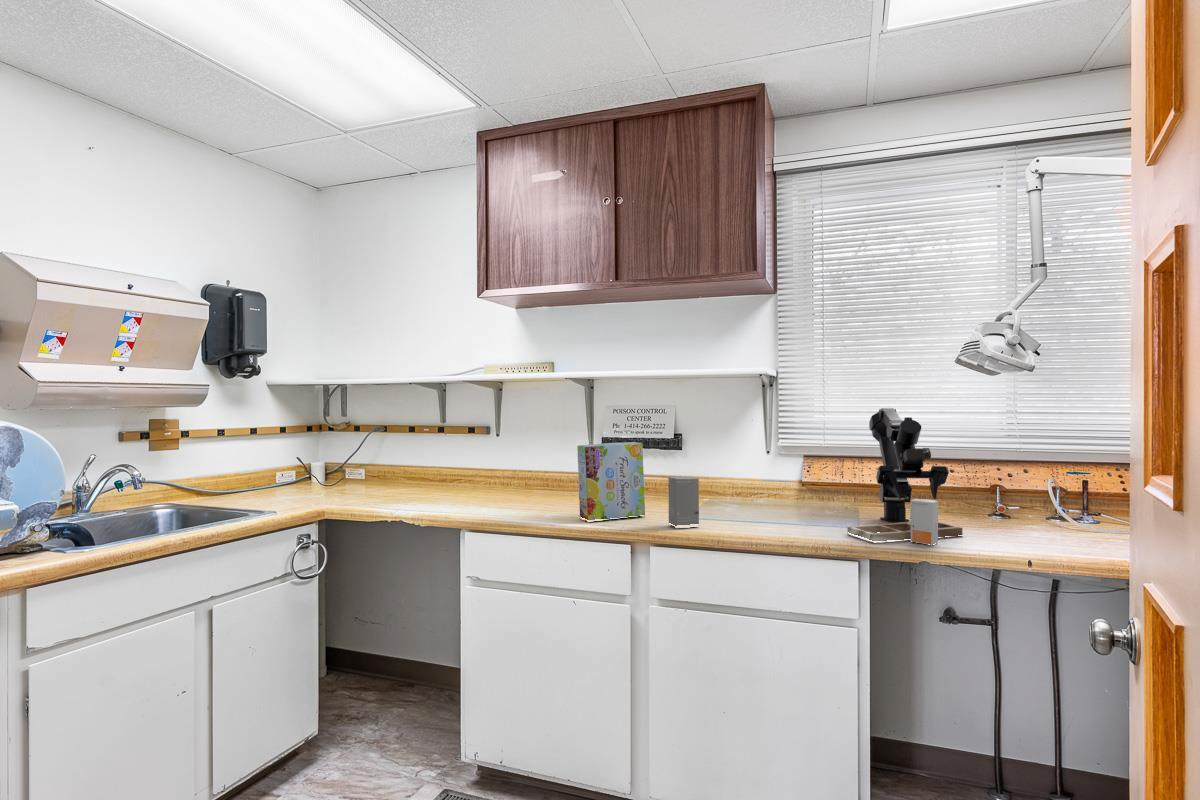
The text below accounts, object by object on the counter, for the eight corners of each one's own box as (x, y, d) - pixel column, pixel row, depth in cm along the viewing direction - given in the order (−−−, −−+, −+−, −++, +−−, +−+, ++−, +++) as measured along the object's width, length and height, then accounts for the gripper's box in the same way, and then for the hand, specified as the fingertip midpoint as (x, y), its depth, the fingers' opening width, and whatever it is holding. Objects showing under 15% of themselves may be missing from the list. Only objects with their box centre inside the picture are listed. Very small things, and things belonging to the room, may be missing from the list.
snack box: (635, 513, 236) (633, 441, 235) (646, 517, 228) (644, 442, 227) (577, 519, 227) (576, 444, 227) (587, 523, 219) (585, 445, 219)
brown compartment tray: (847, 535, 196) (847, 526, 195) (931, 528, 203) (931, 520, 203) (874, 543, 184) (873, 534, 184) (962, 536, 191) (962, 527, 191)
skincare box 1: (675, 529, 207) (675, 479, 207) (667, 525, 214) (666, 476, 214) (700, 527, 209) (700, 477, 209) (691, 523, 216) (691, 475, 216)
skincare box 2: (910, 543, 184) (909, 500, 184) (915, 540, 187) (915, 498, 187) (933, 546, 180) (932, 502, 180) (938, 543, 183) (938, 500, 183)
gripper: (878, 438, 196) (887, 480, 185) (946, 438, 192) (960, 481, 181) (872, 462, 203) (881, 504, 193) (938, 462, 200) (950, 505, 189)
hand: (917, 498), depth 189 cm, fingers open, 9 cm apart
